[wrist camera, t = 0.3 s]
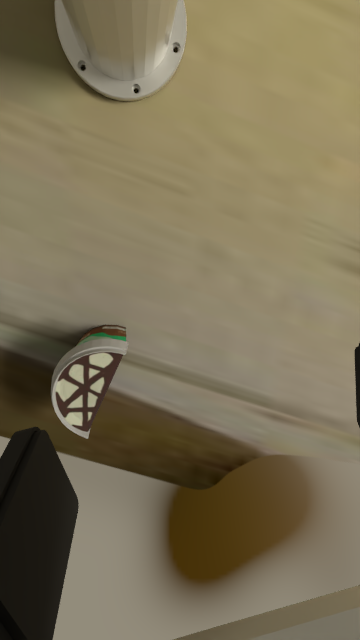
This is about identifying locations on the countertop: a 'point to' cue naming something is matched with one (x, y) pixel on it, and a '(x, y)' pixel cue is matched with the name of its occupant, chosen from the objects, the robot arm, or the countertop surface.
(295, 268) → the countertop surface
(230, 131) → the countertop surface
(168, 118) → the countertop surface
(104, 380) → the food container
